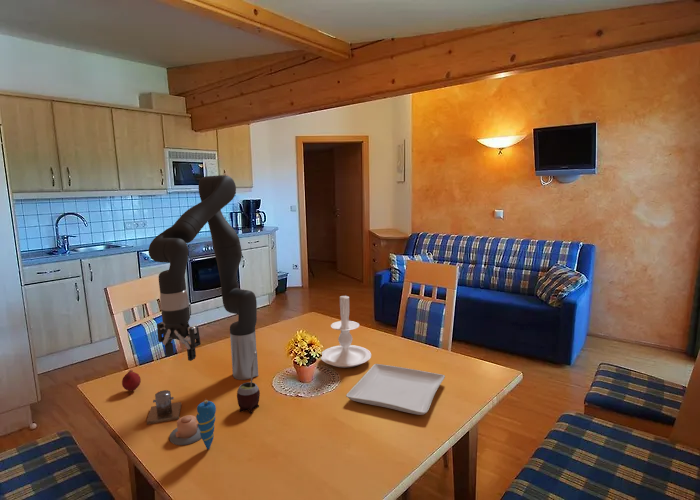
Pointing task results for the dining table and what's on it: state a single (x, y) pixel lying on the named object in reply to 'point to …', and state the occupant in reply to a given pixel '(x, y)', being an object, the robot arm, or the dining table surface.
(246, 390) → the mate gourd
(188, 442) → the coaster
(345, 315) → the candlestick
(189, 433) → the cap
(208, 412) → the ornament
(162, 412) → the cylinder on square base
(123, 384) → the onion
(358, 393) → the square plate
